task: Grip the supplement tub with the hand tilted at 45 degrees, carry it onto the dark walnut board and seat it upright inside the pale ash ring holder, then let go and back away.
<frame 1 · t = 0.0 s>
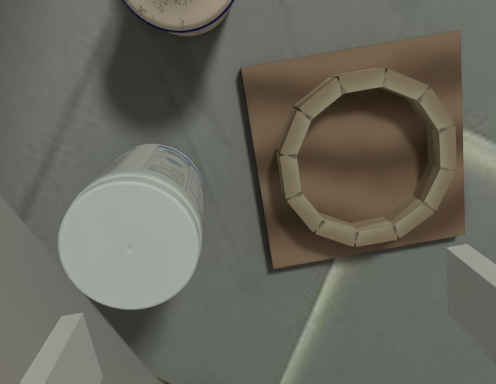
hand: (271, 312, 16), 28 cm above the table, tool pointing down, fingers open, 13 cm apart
supplement tub: (156, 189, 43), on the table
ring holder: (357, 154, 43), on the table
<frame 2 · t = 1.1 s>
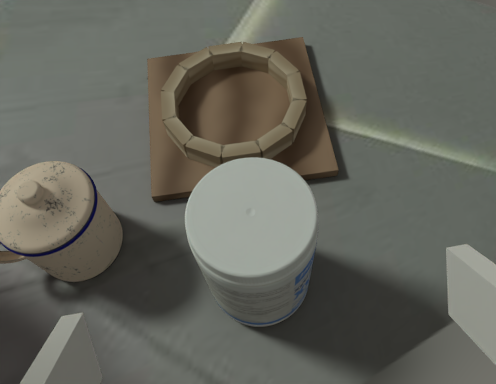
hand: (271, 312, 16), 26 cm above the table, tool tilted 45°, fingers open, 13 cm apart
teacup with lid: (70, 249, 46), on the table
supplement tub: (259, 278, 43), on the table
ring holder: (235, 115, 52), on the table
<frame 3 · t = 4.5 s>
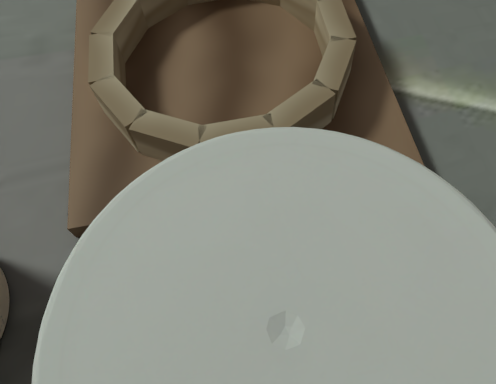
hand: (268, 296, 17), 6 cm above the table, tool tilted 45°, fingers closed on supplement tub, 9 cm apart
ring holder: (225, 78, 30), on the table
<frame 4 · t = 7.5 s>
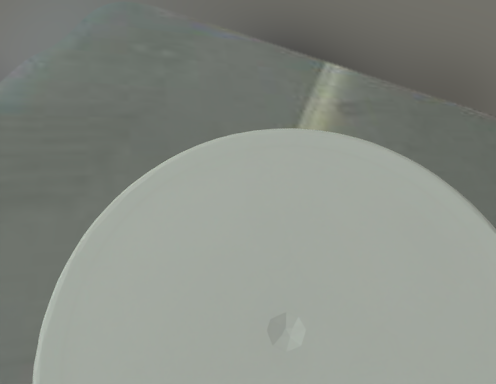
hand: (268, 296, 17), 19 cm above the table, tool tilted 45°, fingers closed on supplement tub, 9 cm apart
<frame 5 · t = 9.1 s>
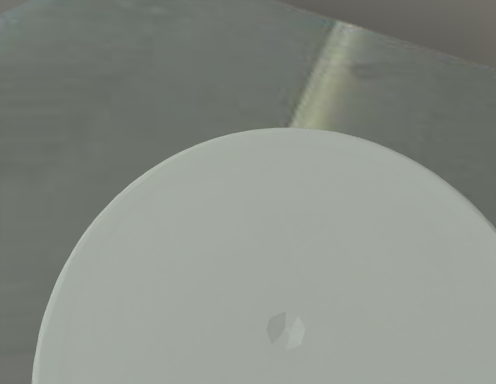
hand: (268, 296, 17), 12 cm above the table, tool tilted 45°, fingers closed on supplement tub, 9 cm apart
when the fingers open (8 cm above the table, at t = 10.6 s): supplement tub drops 1 cm, resting on ring holder.
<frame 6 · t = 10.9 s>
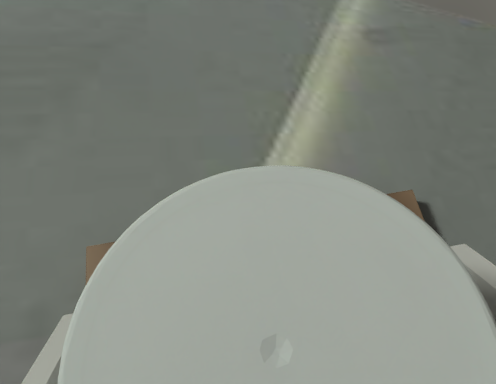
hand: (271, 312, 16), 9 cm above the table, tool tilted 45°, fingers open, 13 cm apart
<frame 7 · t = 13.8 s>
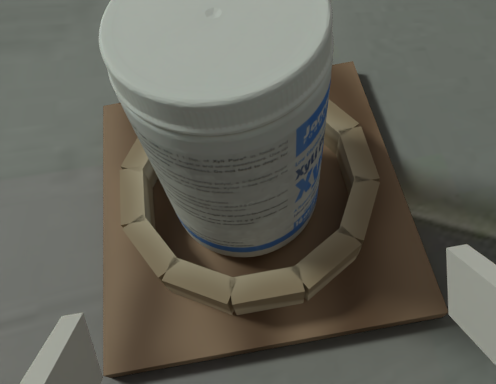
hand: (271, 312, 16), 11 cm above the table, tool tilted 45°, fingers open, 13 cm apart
supplement tub: (245, 195, 30), point 1 cm above the table, touching ring holder
ring holder: (249, 200, 31), on the table
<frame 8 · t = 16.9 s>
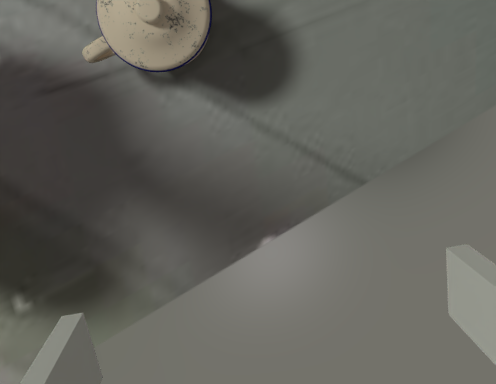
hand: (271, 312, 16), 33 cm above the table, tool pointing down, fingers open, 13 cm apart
teacup with lid: (153, 30, 44), on the table
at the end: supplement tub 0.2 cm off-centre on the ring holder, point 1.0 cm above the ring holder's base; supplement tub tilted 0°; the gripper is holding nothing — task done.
